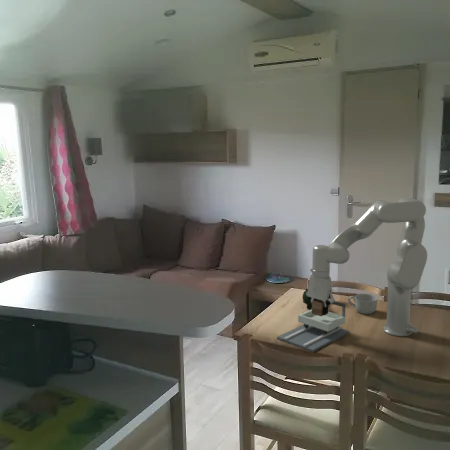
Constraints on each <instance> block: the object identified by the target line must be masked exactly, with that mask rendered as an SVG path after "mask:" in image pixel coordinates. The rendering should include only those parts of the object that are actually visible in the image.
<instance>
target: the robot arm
mask: <svg viewBox="0 0 450 450" xmlns="http://www.w3.org/2000/svg"><path fill="white" fill-rule="evenodd" d="M426 214H427V207H426V205H425V204H424V203H423V202H422V201H421V200H417V199H415V198H412V197H408V196H405V197H401V198H400V199H399V200H398V201H397V202H390V201H387V200H382V199H381V200H377V201H375V202H374V203H373V204H371V206H369V208H368V209H367V210H366V211H365V212H363V214H362V215H361V216H360V217H359V218H358V219H357V220H356V221H355V222H354V223H352V224H351V225H349V226H347V228H345V229H344V230H342V231H341V232H340V233H339V234H338V235H337V236H336V237H335V238H334V239H333V240H332V241H331V242H330V244H328V245H325V244H317V245H314V246H313V247H312V260H311V261H312V264H311V266H312V268H310V270H309V271H310V272H311V274H310V276H309V280H308V281H309V282H308V288H307V289H308V292H307V293H306V295H307V296H308V297H309V299H310V301H311V303H312V301H313V300H315V299H318V300H322V301H323V304H324V306H323V315H326V314H328V311H329V306H330V305H332V304H331V303H333V302H334V301H335V302H336V299H335V297H334V296H333V284H332V283H333V282H332V278H331V277H330V274H331V273H330V272H331V269H330V268H331V263H332V264H337V265H342V264H346V263H347V262H348V261H349V260H350V252H349V250H348V249H349V248H350V247H351V246H352V245H353V244H355V243H356V242H358V241H361V240H364V239H368V238H369V237H371V236H372V235H373V234H374V232H376V231H377V230H378V228H379V227H381V226H382V225H383V224H384V223H385V224H394V223H395V224H396V223H397V224H398V223H403V227H402V231H401V235H400V238H399V240H398V244H397V247H396V255H397V256H398V258H400V259H401V260H402V261H394V262H392V263H391V264H389V266H388V268H387V271H386V278H387V279H386V280H387V281H386V282H387V301H386V302H387V305H386V323H385V324H384V325H383V326H382V330H383V332H384V333H385V334H388V335H391V336H394V337H408V336H411V335H412V334H418V331H419V330H418V327H417V326H413V325H412V322H411V321H410V318H411V314H410V313H411V299H412V298H411V297H412V296H411V295H412V291H411V290H414V289H415V288H416V287H418V285H419V284H420V281H421V279H422V276H423V273H424V270H425V267H426V264H427V261H428V251H427V248H426V247H425V245H423V244H422V241H423V240H422V239H423V237H424V234H425V230H426V229H425V228H426V221H425V215H426ZM329 300H330V301H329Z"/></svg>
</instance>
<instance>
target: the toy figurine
mask: <svg viewBox="0 0 450 450" xmlns="http://www.w3.org/2000/svg"><path fill="white" fill-rule="evenodd" d="M307 292H308V288H306V289H305V290H304V291H303V293H302V302H303V304H305V305H306V309H307V311H309V310H311V309H312V303H311V301H310V299H309V297H308V296H307V295H306V293H307Z"/></svg>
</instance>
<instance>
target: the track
mask: <svg viewBox="0 0 450 450" xmlns="http://www.w3.org/2000/svg"><path fill="white" fill-rule="evenodd" d="M342 327H343V326H342V325H340V326H339V327H338V328H334V329H332V330H330V331H329V332H327V334H323V332H322V331H323V330H322V329H319V328H316V327H313V326H310V325H309V327H308V328H305V327H304V324H302V325H300V326H298V327H296V328H293V329H291V330H289V331H287V332H285V333H283V334H281V335H277V337H276V338H277V340H279V341H281V342H284V343H287V344H290V345H292V346H295V347H297V348H300V349H303V350H305V351H309V352H311V353H315V352H316V351H318V350H319V349H321V348H324V347H326V346H327V345H329V344H331V343H334V342H335V341H337V340H338V339H341V338H342V337H345V336H346V335H348V334H349V333H350V330H348V329H344V328H342Z"/></svg>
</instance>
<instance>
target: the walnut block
mask: <svg viewBox="0 0 450 450" xmlns="http://www.w3.org/2000/svg"><path fill="white" fill-rule="evenodd" d="M323 306H324V304H323V301H322V300H318V299H315V300H313V301H312V314H315V315H318V316H323Z"/></svg>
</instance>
